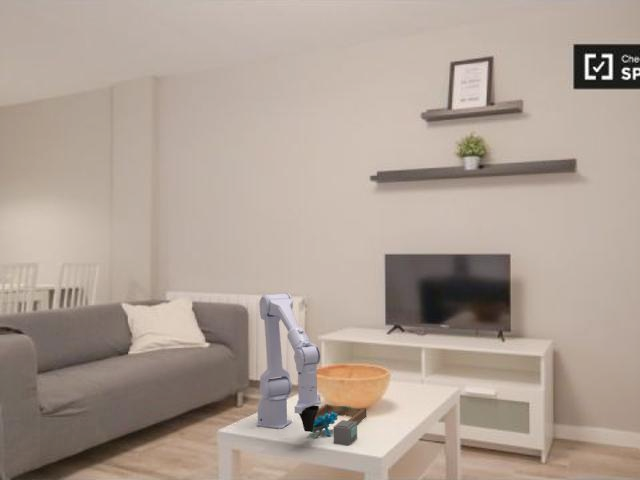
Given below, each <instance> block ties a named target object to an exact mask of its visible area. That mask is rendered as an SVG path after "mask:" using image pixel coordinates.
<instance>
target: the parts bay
mask: <svg viewBox="0 0 640 480" xmlns="http://www.w3.org/2000/svg"><path fill="white" fill-rule="evenodd" d="M341 405H342V404H341ZM341 405H336V404H327V403H326V404H324V405H321V407H319V410H318V412H317V414H316V417H315V420H318V418H317V417H318V416H321V417H325V416H324V414H325V413H328V415H330V413H331V412H334V413H337V415H338V416H342V415H346V416H345V417H350V418H349V419H348V420H347V421H354V422H357V426H358V425H359V424H361V422H363V421H364V420H365V419H366V418H367V408H365V407H355V406H350V405H343V406H341ZM351 416H353V417H351ZM365 417H366V418H365ZM364 418H365V419H364ZM363 419H364V420H363ZM362 420H363V421H362Z"/></svg>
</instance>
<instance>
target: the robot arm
mask: <svg viewBox="0 0 640 480" xmlns="http://www.w3.org/2000/svg"><path fill="white" fill-rule="evenodd" d="M293 301H294V300H293V297H292V295H291V294H290V293H289V292H285V293H277V294H276V293H275V294H263V295H262V296H261V298H260V300H259V302H258V303H259V306H258V307H259V315H260V319H261V320H263V322H264V335H265V348H266V362H267V365H266V366H267V369H266V370H265V371H264V372H263V373H262V374H261V375H260V377H259V378H260V380H259V381H260V383H259V392H260V395H261V397H260V398H259V400H258V402H257V424H256V426H257V427H266V428H272V429H283V428H284V427H287V426H288V425H289V424H291V423H292V421H293V420H290V419H288V405H287V403H288V398H289V396H290V395H291V393H292V392H293V383H292V380H291V376H290V372H288V371H287V370H286V369H284V368H283V357H282V345H281V344H282V343H281V332H280V331H281V330H280V321H281V322H282V323H283V325H284V327H285V328H286V331H288V332H287V339H288V341H289V344H290V346H291V348H292V350H293V351H294V355H293V360H294V363H295V368H296V372H297V383H298V384H297V385H298V386H297V390H298V391H297V392H298V400H297V401H296V404H295V406H294V413H295V414H298V415H299V417H300V420H301V423H302V426H303V429H304V432H307V433H308V432H309V433H312V432H311V431H312V430H313V426H314V421H315V417H316V414H317V412H318V410H319V408H320V406H319V405H320V404H322V401H321V400H322V399H321V394H318V370H317V369H318V364H319V363H320V361H321V352H320V348H319V347H318V346H317V345H316V344H315V343H313V342H311V340H310V338H309V337H308V335H307V332H306V331H305V328H303V327H300V326H299V324H298V322H297V319H296V317H295V314H294V311H293V308H294V302H293Z"/></svg>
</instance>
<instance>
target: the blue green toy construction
mask: <svg viewBox="0 0 640 480" xmlns="http://www.w3.org/2000/svg"><path fill="white" fill-rule="evenodd" d="M338 416H339V415H337V413H334V412H331V413H330V414H328V413H325V414H324V417H321V416H318V417H317V418H318V420H315V421H314V426H313V430H312V431H311V432H310V433H312V434H313V437H314V439H317V438H318V437H317V434H316V432H317V431H320V432H321V431H323V430H325V432H326V434H327V437H331V436H332V433H331V431H330V430H329V429H330V428H329V427H330V425H334V424H335V421H337V420H338Z"/></svg>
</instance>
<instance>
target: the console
mask: <svg viewBox="0 0 640 480" xmlns="http://www.w3.org/2000/svg"><path fill="white" fill-rule="evenodd" d="M356 439H358V425H357V422H354V421H348V420H344V419H341V420H340V421H339V422H337V424H335V425H333V444H335V445H336V444H337V445H342V446H350V445H351V444H353V443H354V442H355V440H356Z"/></svg>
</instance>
